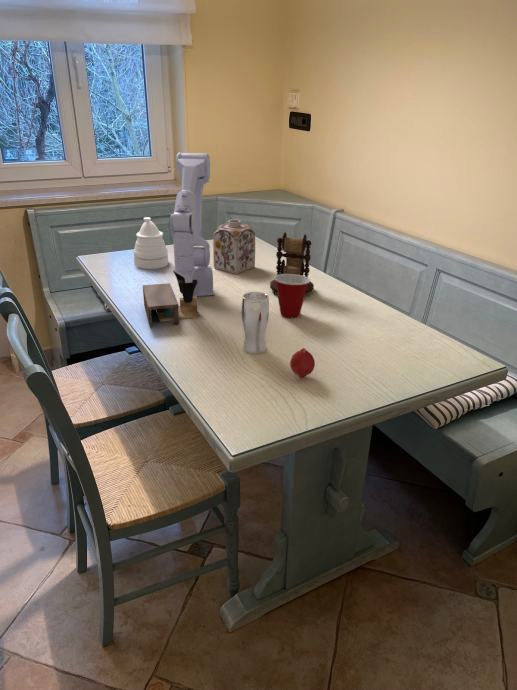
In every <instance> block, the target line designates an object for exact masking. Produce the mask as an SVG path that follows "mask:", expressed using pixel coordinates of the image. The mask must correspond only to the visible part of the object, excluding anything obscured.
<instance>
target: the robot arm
mask: <svg viewBox="0 0 517 690" xmlns="http://www.w3.org/2000/svg"><path fill="white" fill-rule="evenodd" d="M175 166H176V171H177V175H178V177H179V179H180V181H181V190H180V191H179V192H177V194H176V197H175V204H174V211H173V213H171V214H170V218H169V225H170V226H169V227H170V232H171V239H172V240H173V255H174V256H173V259H174V268H173V269H174V270H173V274H174V276H175V278H176V282H177V285H178V288H179V289H178V290H179V293H180V294H182V298H183V299H184V302H185V303H189V302H192V299H193V297H195V296H196V297H206V296H214V294H215V293H214V273H213V272H214V271H213V268H212V266H211V265H210V262H211V250H210V248H211V247H210V243H209V241H207V240H206V239H205V238H203V236H202V227H203V225H202V222H203V217H202V215H203V213H202V212H203V191H204V185H205V184H207V183H209V182H210V178H211V177H210V176H211V175H210V174H211V157H210V154H209V153H207V152H206V153H197V152H195V153H193V152H180V151H179V152H178V153H177V154H176V158H175Z"/></svg>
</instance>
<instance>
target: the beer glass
mask: <svg viewBox="0 0 517 690" xmlns="http://www.w3.org/2000/svg"><path fill="white" fill-rule="evenodd" d="M269 299H270V298H269V295H268V294H267V293H265V292H262V291H249V292H245V293H243V295H242V301H241V302H242V303H241V320H242V327H243V331H244V340H243V341H244V342H243V346H242V349H243V351H244V352H245V353H247V354H250V355H259V354H264V353H265V352H266V350H267V345H266V339H265V338H266V331H267V327H268V323H269V316H270V303H269V301H270V300H269Z"/></svg>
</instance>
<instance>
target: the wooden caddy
mask: <svg viewBox="0 0 517 690" xmlns="http://www.w3.org/2000/svg"><path fill="white" fill-rule="evenodd" d="M142 293H143V296H142V297H143V307H144V310H145V314H146V318H147V322H148V327H149V328H150V329H152V328H153V318H152V310H156V309H163V308H173V320H172V321H173V325H174V326H179V325H180V319H179V311H178V307H179V306H180V304H179V302H178V300H177V296H176V294H175V292H174V290H173V287H172V284H171V283H170V282H169V283H168V282H167V283H155V284H143V285H142Z"/></svg>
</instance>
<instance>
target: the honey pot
mask: <svg viewBox="0 0 517 690" xmlns="http://www.w3.org/2000/svg"><path fill="white" fill-rule="evenodd" d="M151 219H152V218H151V217H149V216H148V217H146V216H145V217H143V221H144V222H143V223H142V225H141V227H140V229H139V231H138V232H137V233H136V235H135V236H136V237H137V238H136V241H135V245H134V249H133V262H134V267H136V268H139V269H144V270H146V269H147V270H150V269H151V270H154V269H161V268H164V267H166V266H168V265H169V253H168V248H167V246H166V244H165V241H164V238H163V236H164V232H163V231H160V230H159V229H158V226H157V225H156V224H155V223H154V222H153V221H151Z"/></svg>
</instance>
